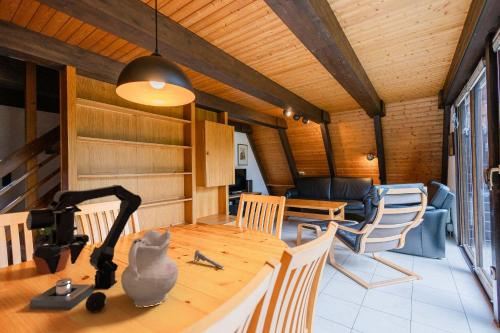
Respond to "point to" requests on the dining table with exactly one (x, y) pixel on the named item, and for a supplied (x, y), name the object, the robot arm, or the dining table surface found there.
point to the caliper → (205, 259)
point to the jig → (61, 298)
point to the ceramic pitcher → (149, 269)
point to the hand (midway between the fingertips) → (63, 268)
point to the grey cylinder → (63, 287)
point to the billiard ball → (96, 302)
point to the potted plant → (41, 263)
